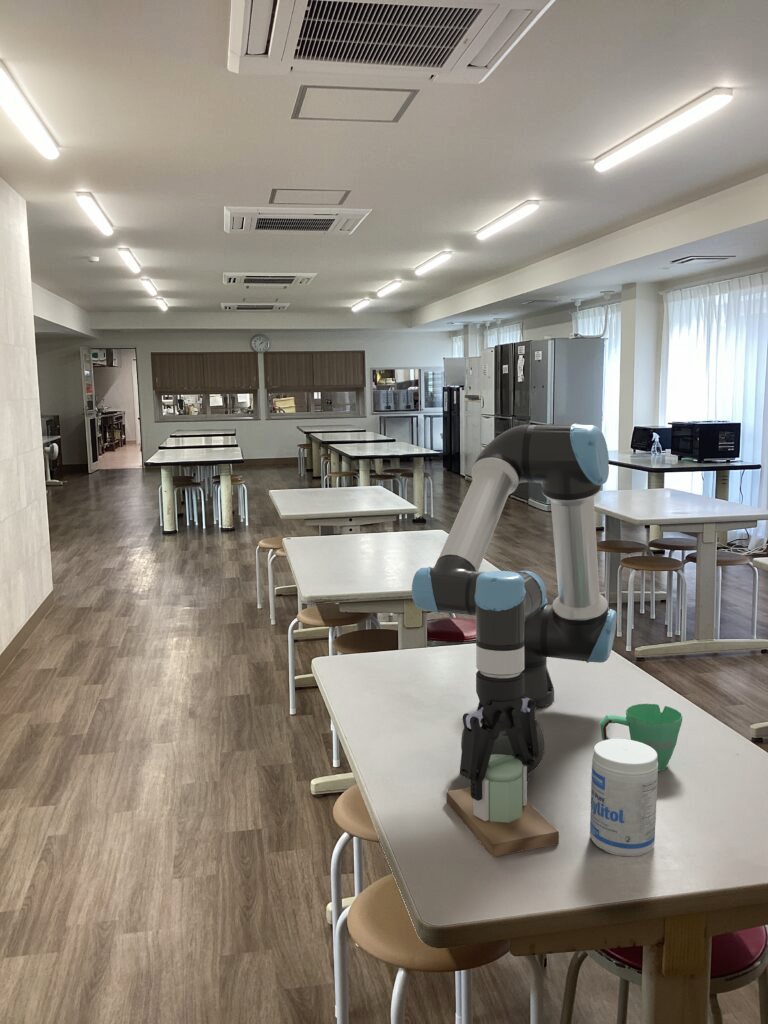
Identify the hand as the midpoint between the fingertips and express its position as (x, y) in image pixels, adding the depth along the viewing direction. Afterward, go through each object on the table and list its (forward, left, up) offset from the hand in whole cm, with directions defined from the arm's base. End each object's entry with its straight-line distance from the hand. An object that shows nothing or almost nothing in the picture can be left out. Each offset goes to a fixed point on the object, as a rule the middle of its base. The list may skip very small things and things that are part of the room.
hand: (500, 809), depth 132 cm
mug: (-34, -11, -3) cm, 35 cm away
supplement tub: (-15, +12, -3) cm, 19 cm away
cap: (0, 0, 0) cm, 0 cm away
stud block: (0, 0, -2) cm, 2 cm away
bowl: (-8, -16, -3) cm, 18 cm away
